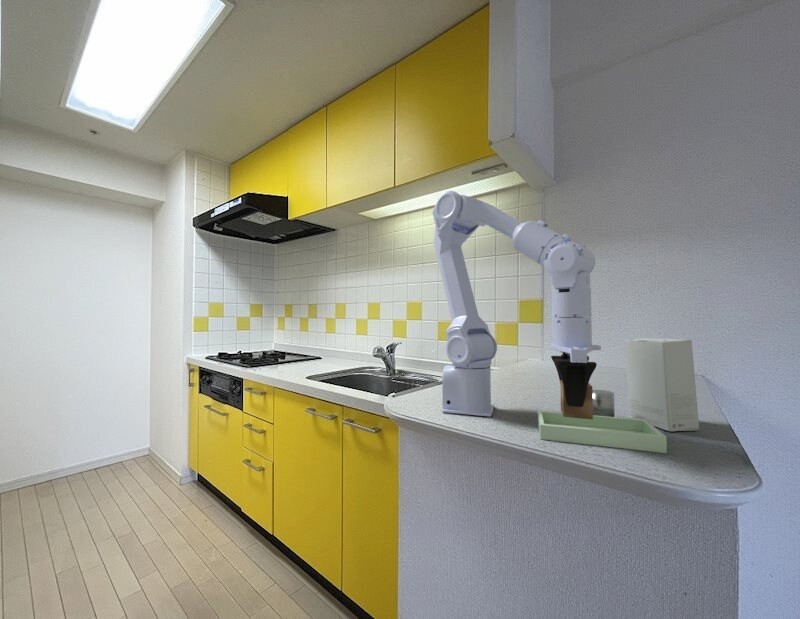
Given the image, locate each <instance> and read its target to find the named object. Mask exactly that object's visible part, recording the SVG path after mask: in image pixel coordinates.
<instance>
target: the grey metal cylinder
mask: <svg viewBox="0 0 800 619" xmlns="http://www.w3.org/2000/svg"><path fill="white" fill-rule="evenodd" d="M592 394H593V415H595V416H607V417H616V416H615V415H616V414H615V412H616V411H615V392H613V391H610V390H605V389H592Z"/></svg>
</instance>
